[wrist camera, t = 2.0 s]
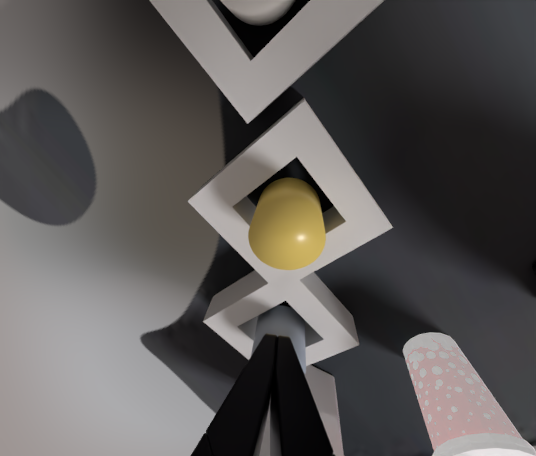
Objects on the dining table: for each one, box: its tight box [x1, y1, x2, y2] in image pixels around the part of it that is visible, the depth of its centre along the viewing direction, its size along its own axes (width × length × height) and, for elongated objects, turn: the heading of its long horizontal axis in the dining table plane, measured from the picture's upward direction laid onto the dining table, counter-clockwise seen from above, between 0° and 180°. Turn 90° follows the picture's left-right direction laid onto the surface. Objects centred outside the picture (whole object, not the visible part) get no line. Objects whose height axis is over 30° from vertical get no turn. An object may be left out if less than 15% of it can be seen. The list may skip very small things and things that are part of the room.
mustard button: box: [248, 178, 326, 270], centre depth 15 cm, size 4×4×4 cm
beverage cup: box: [403, 332, 536, 456], centre depth 19 cm, size 6×6×14 cm
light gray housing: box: [203, 270, 359, 366], centre depth 23 cm, size 9×9×3 cm
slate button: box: [251, 306, 306, 375], centre depth 21 cm, size 4×4×4 cm
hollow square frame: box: [188, 98, 393, 290], centre depth 18 cm, size 9×9×3 cm
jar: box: [259, 365, 344, 456], centre depth 24 cm, size 9×8×12 cm
